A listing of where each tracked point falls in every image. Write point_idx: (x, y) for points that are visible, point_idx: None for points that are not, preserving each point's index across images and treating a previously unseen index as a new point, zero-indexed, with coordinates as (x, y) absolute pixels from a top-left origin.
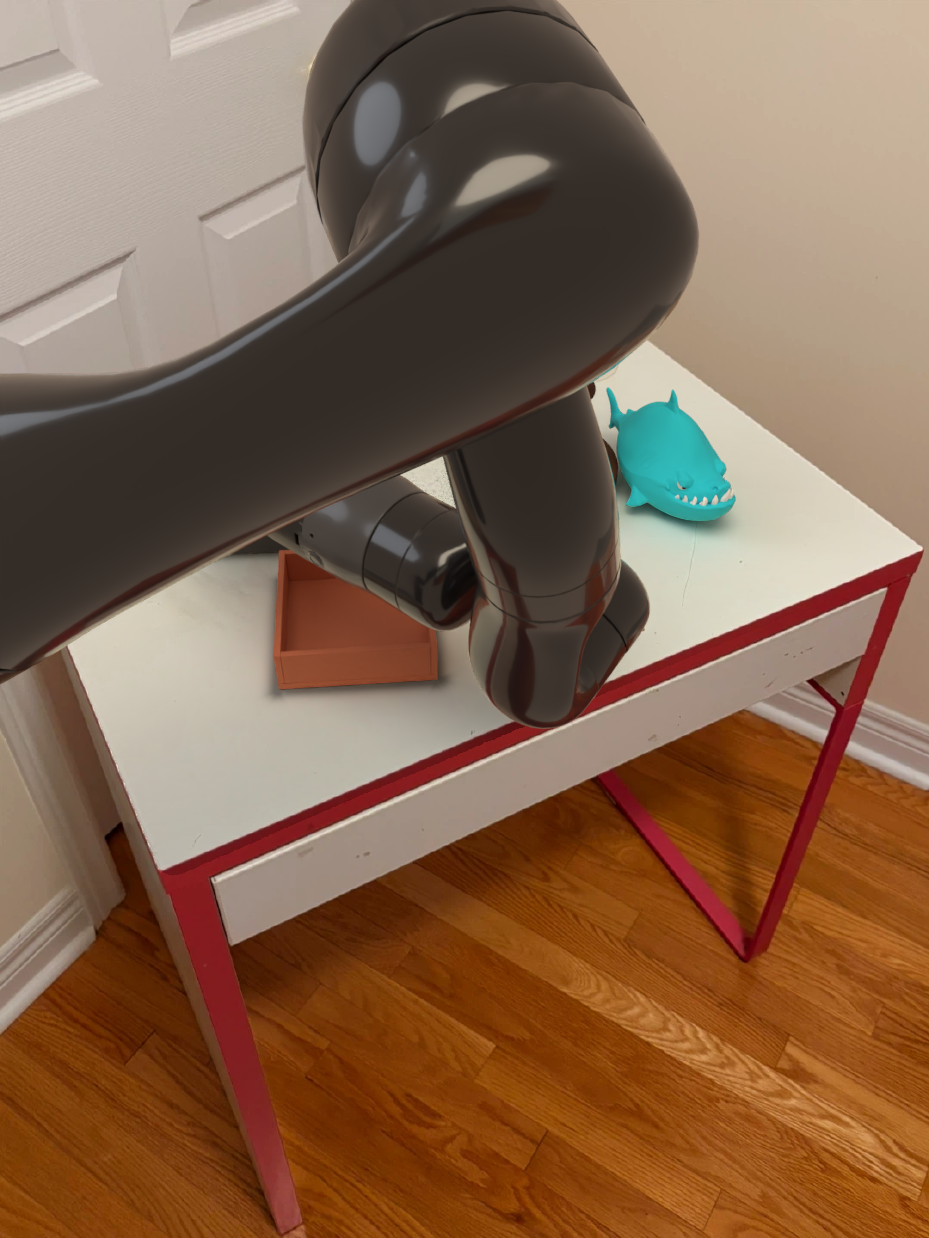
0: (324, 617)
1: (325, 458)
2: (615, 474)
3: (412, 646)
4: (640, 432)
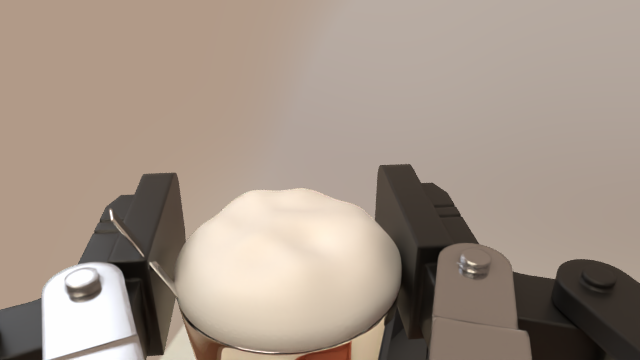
0: None
1: None
2: None
3: None
4: None
